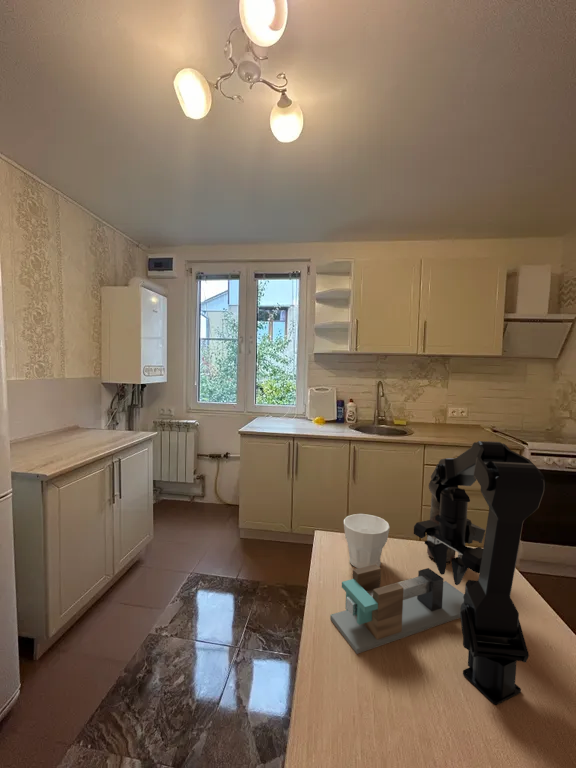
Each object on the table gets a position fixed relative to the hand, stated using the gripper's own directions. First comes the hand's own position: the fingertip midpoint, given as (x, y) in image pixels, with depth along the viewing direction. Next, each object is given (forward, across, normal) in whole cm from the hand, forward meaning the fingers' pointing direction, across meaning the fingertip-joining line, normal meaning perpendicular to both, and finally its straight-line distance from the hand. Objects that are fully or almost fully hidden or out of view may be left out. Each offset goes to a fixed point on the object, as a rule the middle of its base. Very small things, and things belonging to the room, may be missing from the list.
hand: (449, 579), depth 83 cm
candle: (+6, +15, -13) cm, 21 cm away
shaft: (+5, 0, +6) cm, 8 cm away
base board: (+5, 0, +12) cm, 13 cm away
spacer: (+2, 0, +25) cm, 25 cm away
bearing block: (+5, 0, +21) cm, 21 cm away
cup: (+6, +21, +8) cm, 23 cm away
